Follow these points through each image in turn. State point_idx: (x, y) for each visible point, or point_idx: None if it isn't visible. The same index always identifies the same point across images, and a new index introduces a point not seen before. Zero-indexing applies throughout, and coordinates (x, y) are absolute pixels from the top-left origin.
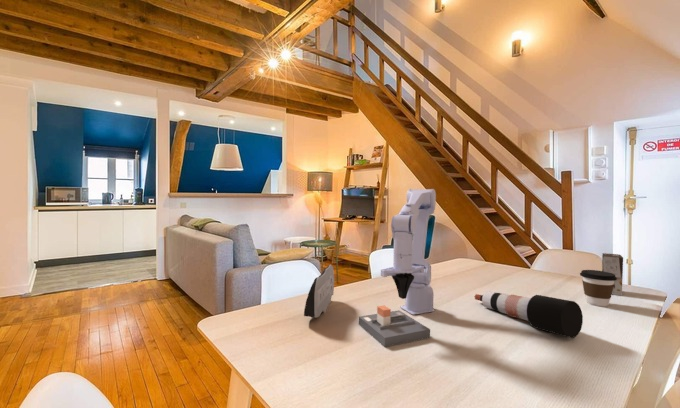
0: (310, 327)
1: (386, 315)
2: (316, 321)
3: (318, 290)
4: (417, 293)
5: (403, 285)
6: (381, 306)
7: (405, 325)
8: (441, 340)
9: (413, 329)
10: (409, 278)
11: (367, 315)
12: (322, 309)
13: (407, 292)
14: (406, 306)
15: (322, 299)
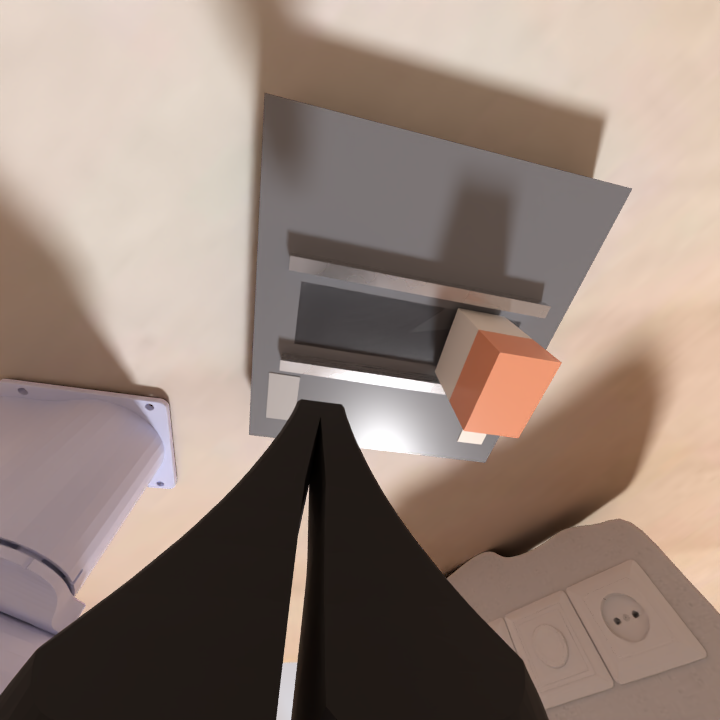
0: (621, 488)
1: (512, 339)
2: (565, 513)
3: (681, 665)
4: (37, 497)
5: (369, 528)
6: (497, 425)
7: (375, 258)
8: (228, 14)
9: (379, 175)
10: (232, 702)
11: (442, 455)
12: (522, 561)
13: (283, 431)
14: (157, 464)
15: (562, 606)
